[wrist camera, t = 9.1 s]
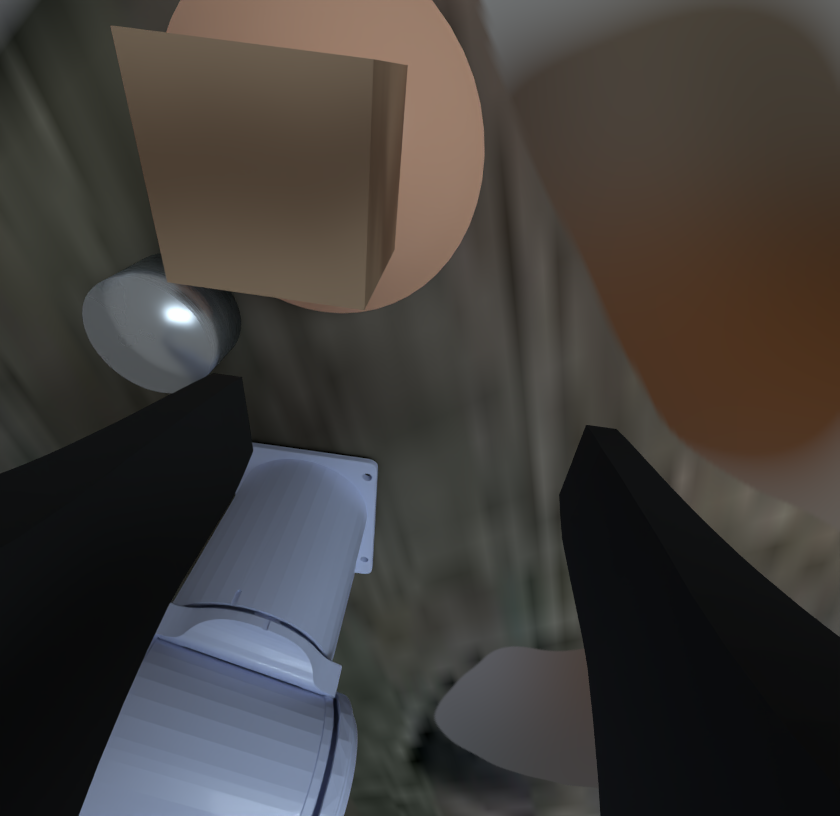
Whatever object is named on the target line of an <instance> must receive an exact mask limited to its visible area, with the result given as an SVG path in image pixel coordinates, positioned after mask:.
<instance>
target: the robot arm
mask: <svg viewBox="0 0 840 816" xmlns="http://www.w3.org/2000/svg"><path fill="white" fill-rule="evenodd" d="M365 474H370V475H371V476H368V475H365ZM377 478H378V464H377V463H376V462H375V461H374V460H371V459H367V458H360V457H352V456H345V455H338V454H331V453H324V452H317V451H310V450H303V449H296V448H289V447H282V446H275V445H268V444H261V443H254V442H252V439H251V432H250V426H249V420H248V413H247V407H246V401H245V394H244V388H243V382H242V377H237V376H229V375H222V374H215V373H213V374H211V375H209V376H206V377H204V378H202V379H200V380H198V381H196V382H194V383H191V384H190V385H188V386H186V387H184V388H182V389H180V390H178V391H176V392H174V393H172V394H170V395H168V396H166V397H165V398H163V399H161V400H159V401H157V402H155V403H153V404H151V405H149V406H147V407H145V408H143V409H141V410H140V411H138V412H136V413H134V414H132V415H130V416H128V417H126V418H124V419H122V420H120V421H118V422H116V423H114V424H112V425H110V426H108V427H106V428H104V429H101V430H99V431H97V432H95V433H93V434H91V435H89V436H87V437H85V438H83V439H80V440H78V441H76V442H74V443H72V444H70V445H68V446H66V447H64V448H61V449H59V450H57V451H55V452H52V453H50V454H48V455H46V456H43V457H41V458H38V459H36V460H34V461H31V462H29V463H27V464H24V465H22V466H19V467H16V468H14V469H11V470H9V471H6V472H4V473H1V474H0V816H344V813H345V809H346V806H347V802H348V798H349V794H350V790H351V785H352V780H353V775H354V769H355V762H356V754H357V726H356V721H355V718H354V715H353V710H352V706H351V703H350V700H349V699H348V697H347V696H346V695H344V694H342V693H339V692H336V690H337V686H338V682H339V677H340V673H341V669H342V666H341V665H340V664H338V663H335V662H333V661H332V659H333V656H334V653H335V649H336V645H337V641H338V637H339V633H340V629H341V625H342V621H343V617H344V613H345V609H346V605H347V602H348V598H349V594H350V590H351V586H352V582H353V578H354V574H355V573H362V574H368V573H370V572H371V571H372V567H373V551H374V533H375V515H376V496H377ZM234 494H236V496H235V497H234V499H233V501H232V502H231V504H230V506H229V508H228V509H227V511H226V513H225V514H224V516H223V518H222V519H221V521H220V523H219V525H218V526H217V528H216V530H215V531H214V533H213V535H212V537H211V538H210V540H209V542H208V543H207V545H206V547H205V548H204V550H203V552H202V554H201V555H200V557H199V559H198V560H197V562H196V564H195V566H194V567H193V569H192V571H191V572H190V574H189V576H188V577H187V579H186V581H185V583H184V584H183V586H182V588H181V589H180V591H179V593H178V595H177V596H176V598H175V600H174V601H173V603H170V602H171V600H172V598H173V597H174V595H175V593H176V591H177V589H178V588H179V586H180V584H181V582H182V580H183V579H184V577H185V575H186V574H187V572H188V571H189V569H190V567H191V566H192V564H193V562H194V561H195V559H196V557H197V556H198V554H199V552H200V551H201V549H202V547H203V546H204V544H205V543H206V541H207V539H208V538H209V536H210V534H211V533H212V531H213V529H214V528H215V526H216V524H217V523H218V521H219V519H220V518H221V516H222V514H223V513H224V511H225V509H226V508H227V506H228V504H229V503H230V501H231V499H232V498H233V496H234ZM559 498H560V516H561V529H562V540H563V545H564V550H565V555H566V560H567V565H568V570H569V575H570V580H571V585H572V590H573V595H574V599H575V604H576V609H577V614H578V619H579V624H580V628H581V633H582V638H583V643H584V649H585V655H586V661H587V667H588V676H589V685H590V695H591V704H592V713H593V724H594V736H595V747H596V759H597V770H598V782H599V799H600V815H601V816H840V637H839V636H838V635H836V634H835V633H834V632H832V631H831V630H830V629H828V628H827V627H826V626H824V625H823V624H822V623H821V622H819V621H818V620H817V619H815V618H814V617H813V616H812V615H810V614H809V613H808V612H807V611H805V610H804V609H803V608H801V607H800V606H799V605H798V604H797V603H795V602H794V601H793V600H792V599H791V598H789V597H788V596H787V595H786V594H785V593H783V592H782V591H781V590H780V589H779V588H777V587H776V586H775V585H774V584H773V583H771V582H770V581H769V580H768V579H767V578H765V577H764V576H763V575H762V574H761V573H760V572H758V571H757V570H756V569H755V568H754V567H753V566H752V565H750V564H749V563H748V562H747V561H746V560H745V559H744V558H743V557H741V556H740V555H739V554H738V553H737V552H736V551H735V550H734V549H733V548H732V547H731V546H730V545H729V544H728V543H726V542H725V541H724V540H723V539H722V538H721V537H720V536H719V535H718V534H717V533H716V532H715V531H714V530H713V529H712V528H711V527H710V526H709V525H708V524H707V523H706V522H705V521H704V520H703V519H702V518H701V517H700V516H699V515H698V514H697V513H695V512H694V511H693V509H692V508H691V507H690V506H689V505H688V504H687V503H686V502H685V501H684V500H683V499H682V498H681V497H680V496H679V495H678V494H677V493H676V492H675V491H674V490H673V489H672V488H671V487H670V486H669V484H668V483H667V482H666V481H665V480H664V479H663V478H662V477H661V476H660V475H659V474H658V473H657V472H656V470H655V469H654V468H653V467H652V466H651V465H650V464H649V463H648V462H647V461H646V460H645V459H644V457H643V456H642V455H641V454H640V453H639V452H638V451H637V450H636V449H635V448H634V447H633V446H632V444H631V443H630V442H629V441H628V440H627V439H626V438H625V437H624V436H623V435H622V434H621V433H620V432H619V431H618V430H617V429H612V428H605V427H597V426H590V425H586V427H585V430H584V432H583V435H582V437H581V440H580V443H579V445H578V448H577V450H576V453H575V456H574V458H573V461H572V463H571V466H570V469H569V471H568V474H567V476H566V479H565V481H564V484H563V487H562V489H561V492H560V494H559Z"/></svg>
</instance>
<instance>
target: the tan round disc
mask: <svg viewBox="0 0 840 816" xmlns="http://www.w3.org/2000/svg"><path fill="white" fill-rule="evenodd" d="M166 33H173V34H181V35H189V36H196V37H204V38H212V39H220V40H228V41H235V42H243V43H251V44H259V45H267V46H275V47H282V48H290V49H298V50H306V51H314V52H321V53H329V54H337V55H345V56H353V57H360V58H368V59H375V60H381V61H387V62H392V63H398V64H404V65H408V68H407V82H406V96H405V110H404V124H403V138H402V152H401V166H400V180H399V194H398V208H397V222H396V236H395V250H394V252H393V254H392V256H391V258H390V260H389V262H388V264H387V266H386V268H385V270H384V272H383V274H382V276H381V278H380V280H379V282H378V284H377V286H376V288H375V290H374V292H373V294H372V296H371V298H370V300H369V302H368V304H367V306H366V308H365V310H359V309H352V308H345V307H338V306H331V305H324V304H317V303H310V302H303V301H296V300H289V299H282V298H279V299H281V300H283V301H285V302H288V303H290V304H293V305H297V306H300V307H303V308H306V309H311V310H316V311H321V312H330V313H356V312H363V311H369V310H374V309H378V308H381V307H384V306H387V305H390V304H393V303H395V302H397V301H399V300H401V299H403V298H405V297H407V296H409V295H410V294H412V293H413V292H415V291H416V290H418V289H419V288H421V287H422V286H424V285H425V284H426V283H427V282H428V281H429V280H431V279H432V278H433V277H434V276H435V275H436V274H437V273H438V272H439V271H440V270H441V269H442V267H443V266H444V265H445V264H446V263H447V262H448V261H449V259H450V258H451V256H452V255H453V253H454V252H455V250H456V249H457V247H458V246H459V244H460V243H461V241H462V239H463V237H464V235H465V233H466V231H467V229H468V227H469V225H470V222H471V219H472V216H473V214H474V211H475V208H476V205H477V201H478V197H479V192H480V188H481V183H482V176H483V166H484V125H483V117H482V110H481V102H480V98H479V94H478V90H477V86H476V82H475V78H474V75H473V73H472V70H471V67H470V65H469V62H468V60H467V57H466V55H465V53H464V51H463V49H462V47H461V45H460V43H459V41H458V40H457V38H456V36H455V34H454V32H453V30H452V29H451V27H450V25H449V24H448V22H447V21H446V19H445V18H444V17H443V15H442V14H441V12H440V11H439V9H438V8H437V7H436V5H435V4H434V2H433V1H432V0H180V2H179V4H178V6H177V8H176V10H175V12H174V14H173V16H172V18H171V20H170V23H169V26H168V29H167V32H166Z"/></svg>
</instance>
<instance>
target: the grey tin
mask: <svg viewBox="0 0 840 816" xmlns="http://www.w3.org/2000/svg"><path fill="white" fill-rule="evenodd" d="M82 317H83V324H84V327H85V331H86V333H87V336H88V338H89V340H90V342H91V344H92V345H93V347H94V348H95V350H96V351H97V353H98V354H99V355H100V356H101V358H102V359H103V360H104V361H105V362H106V363H107V364H108V365H109V366H110V367H111V368H112V369H113V370H115V371H116V372H117V373H118V374H120V375H121V376H123V377H124V378H126V379H127V380H129V381H131V382H132V383H134V384H136V385H138V386H141V387H143V388H146V389H149V390H152V391H156V392H162V393H174V392H176V391H178V390H180V389H182V388H184V387H186V386H188V385H190V384H191V383H194V382H196V381H198V380H200V379H202V378H204V377H206V376H207V375H208V374H209V373H210V372H211V371H212V370H213V369H214V368H215V367H216V366H217V364H218V363H219V362H220V361H221V360H222V359H223V358H224V357H225V356H226V355H227V353H228V352H229V351H230V350H231V349H232V348H233V347H234V346H235V344H236V343H237V341H238V338H239V336H240V331H241V316H240V312H239V308H238V305H237V303H236V301H235V299H234V296H233V295H232V293H231V292H230V291H225V290H218V289H211V288H204V287H197V286H190V285H183V284H176V283H169V282H167V279H166V274H165V270H164V265H163V261H162V256H161V253H159V254H155V255H151V256H149V257H146V258H144V259H142V260H141V261H139V262H137V263H135V264H133V265H131V266H130V267H128V268H126V269H124V270H122V271H120V272H118V273H117V274H115V275H113V276H111V277H109V278H107V279H105V280H104V281H102V282H100V283H98V284H97V285H95V286H94V287H93V288H92V289H91V290H90V291H89V293H88V294H87V296H86V298H85V300H84V303H83V309H82Z"/></svg>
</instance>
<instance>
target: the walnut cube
mask: <svg viewBox="0 0 840 816" xmlns="http://www.w3.org/2000/svg"><path fill="white" fill-rule="evenodd" d="M110 26H111V25H110ZM111 30H112V35H113V39H114V44H115V48H116V53H117V57H118V62H119V66H120V71H121V75H122V80H123V84H124V89H125V94H126V98H127V103H128V107H129V112H130V116H131V121H132V125H133V130H134V134H135V139H136V143H137V148H138V152H139V157H140V161H141V166H142V170H143V175H144V179H145V184H146V188H147V193H148V197H149V202H150V206H151V211H152V215H153V220H154V224H155V229H156V233H157V238H158V243H159V247H160V252H161V256H162V261H163V265H164V270H165V274H166V279H167V282H169V283H176V284H183V285H190V286H197V287H204V288H211V289H218V290H225V291H232V292H239V293H247V294H254V295H261V296H268V297H275V298H282V299H289V300H296V301H303V302H310V303H317V304H324V305H331V306H338V307H345V308H352V309H359V310H365V308H366V306H367V304H368V302H369V300H370V298H371V296H372V294H373V292H374V290H375V288H376V286H377V284H378V282H379V280H380V278H381V276H382V274H383V272H384V270H385V268H386V266H387V264H388V262H389V260H390V258H391V256H392V254H393V252H394V250H395V236H396V222H397V208H398V194H399V180H400V166H401V152H402V138H403V124H404V110H405V96H406V82H407V68H408V65H404V64H398V63H392V62H387V61H381V60H375V59H368V58H360V57H353V56H345V55H337V54H329V53H321V52H314V51H306V50H298V49H290V48H282V47H275V46H267V45H259V44H251V43H243V42H235V41H228V40H220V39H212V38H204V37H196V36H189V35H181V34H173V33H165V32H157V31H150V30H142V29H134V28H126V27H118V26H111Z"/></svg>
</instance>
